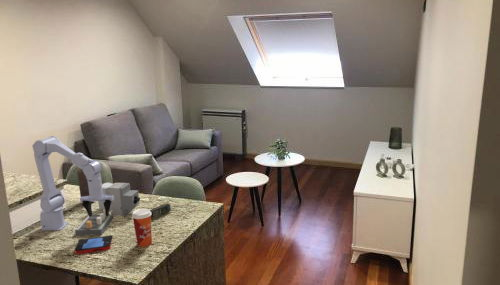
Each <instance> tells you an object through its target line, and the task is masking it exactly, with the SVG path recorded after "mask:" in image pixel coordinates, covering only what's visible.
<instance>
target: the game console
mask: <svg viewBox="0 0 500 285" xmlns="http://www.w3.org/2000/svg"><path fill="white" fill-rule="evenodd" d="M113 237H114V236H113V235H110V234H109V235H105V236H96V237H89V238H88V237H87V238H81V239H79V240H78V242H77V243H76V246H75V248H74V252H75V254H77V255H80V254H87V253H88V254H89V253H94V252H103V251H108V250H110V249H111V244H112V241H113V239H114V238H113Z"/></svg>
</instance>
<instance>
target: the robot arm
mask: <svg viewBox="0 0 500 285" xmlns="http://www.w3.org/2000/svg"><path fill="white" fill-rule="evenodd" d="M32 150H33V156H34V161H35V164H36V168H37V172H38V176H39V180H40V183H41V187H42V191H43V192H42V194H41V195H40V197H39V200H40V203H39V204H40V208H41V212H40V216H39V218H40V219H39V220H40V226H41V231H61V230H63V229H64V228H65V226H67V224H68V221H65V219H64V212H63V211H64V210H63V208H64V205H65V203H66V199H65V196H64V195H63V194H62V191H61V190H60V189H58V188H57V187H56V182H55V179H54V175H53V171H52V168H51V167H52V166H51V163H50V159H49V157H50V156H51V154H52V153H58V154H59V155H62V156H64V157H65V158H67V159H69V160H70V161H71V164H73V165H74V166H75V167H77V168H78V169H79V168H80V169H82V170H83V172H84V174H85V175H86V179H87V180H88V188H89V195H90V196H84V197H81V196H80V197H79V201H80V203H81V205H82V207H83V209H85V211H86V212H87V216H88V215H89V217H91V216H92V215H93V210H92V203H93V202H98V201H105V202H104V203H103V204H104V207H105V213H106V216H108V215H109V214H110V210H109V209H110V205H111V202H112V201H113V200H114V197H113V196H110V195H103V190H102V184H103V182H102V175H101V172H102V171H103V165H102V163H101V161H99V160H98V159H91V158H90V157H88V156H86V155H84V153H82V152H75V151H73V150H72V149H71V148H70V147H68V146H66V144H64V143H63V142H62V140H61V139H60V138H58V137H57V136H55V135H50V136H48V137H45V138H42V139H37V140H35V141H34V143H33V144H32ZM91 201H92V202H91ZM82 202H83V203H82Z"/></svg>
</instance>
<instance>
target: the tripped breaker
mask: <svg viewBox="0 0 500 285" xmlns="http://www.w3.org/2000/svg"><path fill="white" fill-rule="evenodd" d="M86 225H87V229H88V228H91V227H92V222H91V221H87V222H86Z"/></svg>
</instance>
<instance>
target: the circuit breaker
mask: <svg viewBox="0 0 500 285" xmlns="http://www.w3.org/2000/svg"><path fill="white" fill-rule="evenodd" d="M112 184H113V185H111V186H110V187H108V195H110V196H113V197H114V200H113V201H112V202H111V206H110V210H109V214H113V217H114V216H118V217H126V216H127V215H129V214H130V213H131V212H133V210H134V209H136V208H137V207H138V206H139V205H140V200H141V198H140V194H139V190H135V189H131V184H130V183H129V182H115V183H112ZM109 193H110V194H109Z"/></svg>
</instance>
